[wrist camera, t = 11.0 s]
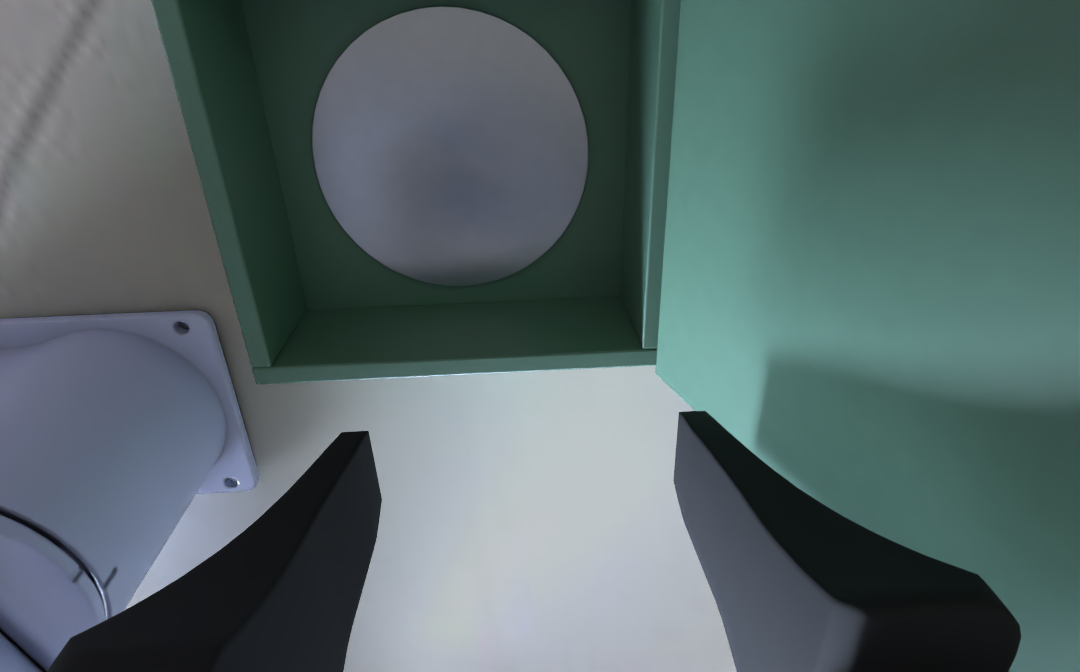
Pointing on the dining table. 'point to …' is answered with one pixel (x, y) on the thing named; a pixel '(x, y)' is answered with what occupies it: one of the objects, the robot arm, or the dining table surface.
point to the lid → (892, 273)
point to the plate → (450, 145)
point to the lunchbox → (364, 283)
